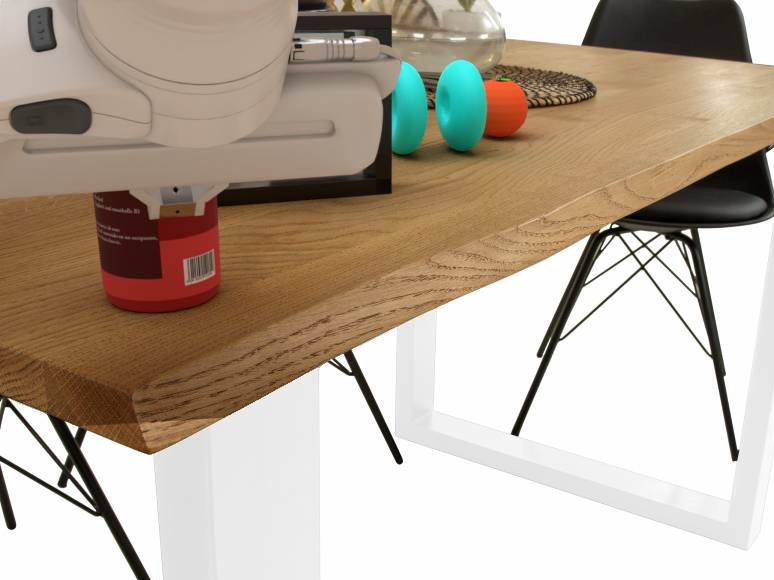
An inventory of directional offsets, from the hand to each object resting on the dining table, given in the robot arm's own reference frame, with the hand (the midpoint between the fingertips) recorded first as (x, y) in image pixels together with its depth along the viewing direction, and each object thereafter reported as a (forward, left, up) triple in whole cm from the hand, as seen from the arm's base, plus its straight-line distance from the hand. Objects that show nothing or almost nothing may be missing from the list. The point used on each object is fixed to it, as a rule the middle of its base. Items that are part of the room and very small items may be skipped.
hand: (174, 206), depth 56 cm
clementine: (+62, +35, -9) cm, 71 cm away
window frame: (+24, +27, -9) cm, 37 cm away
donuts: (+49, +33, -9) cm, 59 cm away
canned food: (+4, +10, -9) cm, 13 cm away
